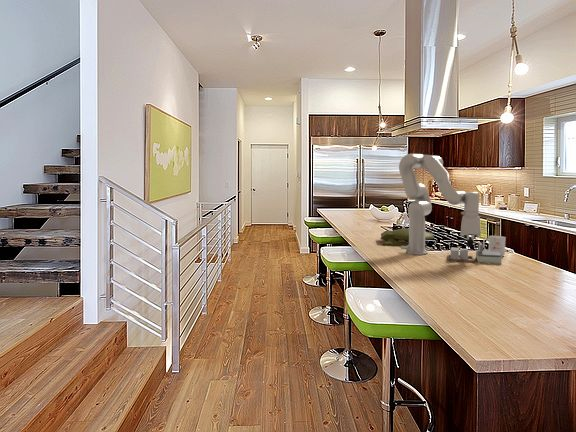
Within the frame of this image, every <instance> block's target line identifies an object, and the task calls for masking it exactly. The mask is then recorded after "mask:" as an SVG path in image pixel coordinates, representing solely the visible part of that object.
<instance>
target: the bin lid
mask: <svg viewBox="0 0 576 432" xmlns="http://www.w3.org/2000/svg"><path fill="white" fill-rule="evenodd" d="M477 249H478V250H475V254H476V253H477V254H478V256H498V257H502V258H503V256H502V255H501V254H500V252H499V251H489V250H488V251H486V250H483V249H484V247H483V242H481V241H478V247H477Z"/></svg>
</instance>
